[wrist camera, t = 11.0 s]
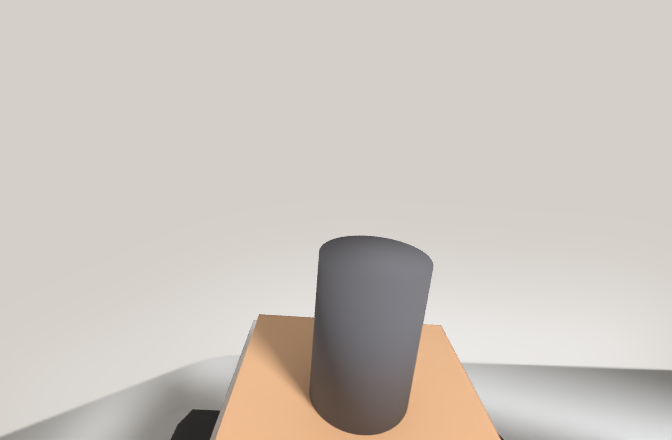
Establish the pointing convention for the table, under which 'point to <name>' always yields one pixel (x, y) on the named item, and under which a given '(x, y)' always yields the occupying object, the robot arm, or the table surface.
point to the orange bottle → (357, 359)
